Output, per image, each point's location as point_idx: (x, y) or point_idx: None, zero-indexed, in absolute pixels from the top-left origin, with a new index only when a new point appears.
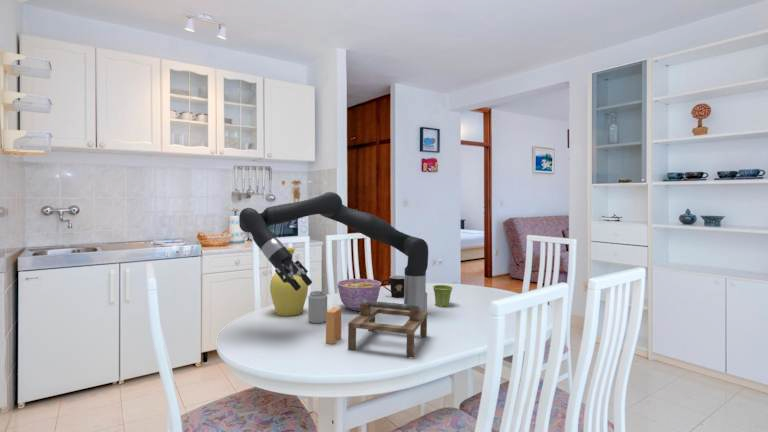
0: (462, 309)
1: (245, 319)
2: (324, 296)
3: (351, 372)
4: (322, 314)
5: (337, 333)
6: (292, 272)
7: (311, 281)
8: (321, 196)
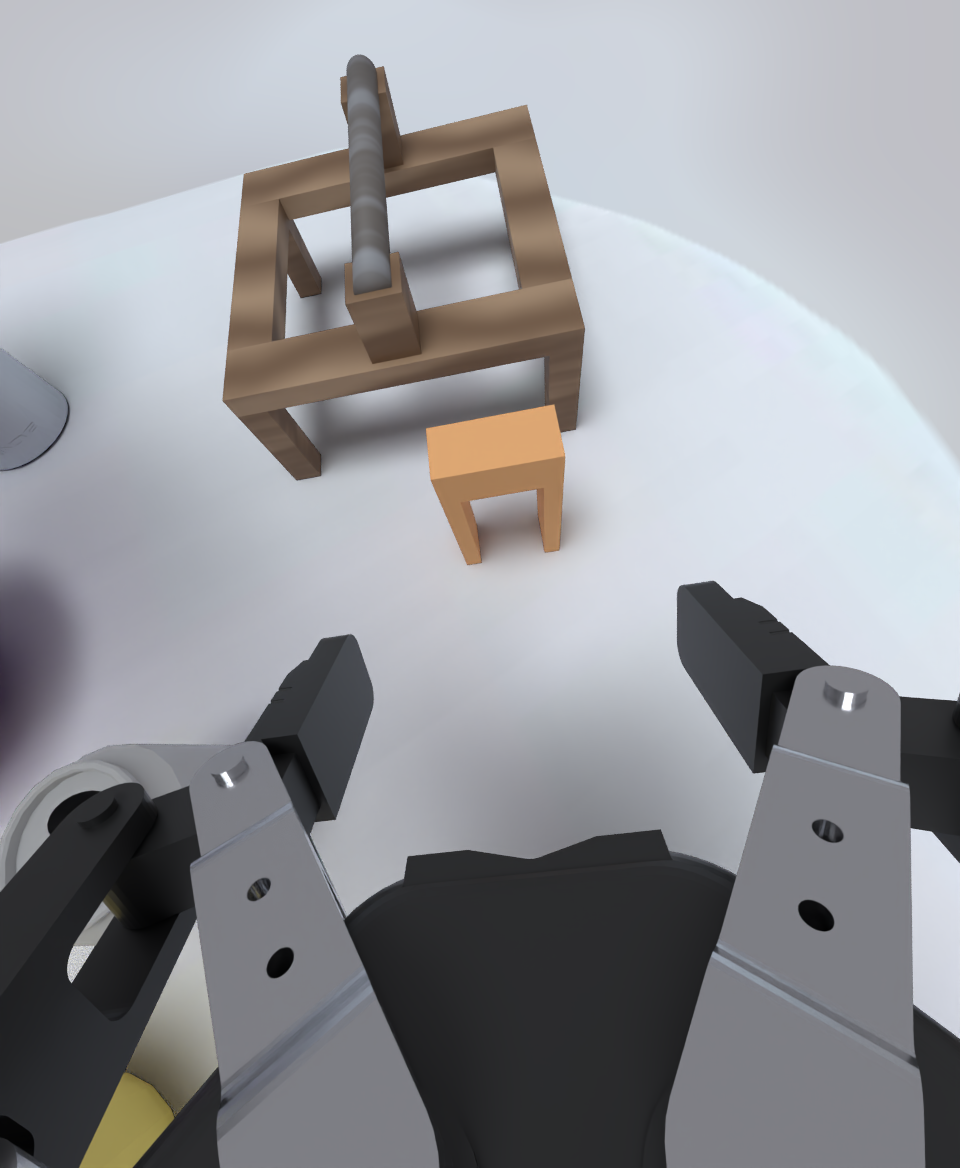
0: None
1: None
2: (123, 752)
3: (768, 308)
4: None
5: (474, 525)
6: (814, 766)
7: (333, 638)
8: None
